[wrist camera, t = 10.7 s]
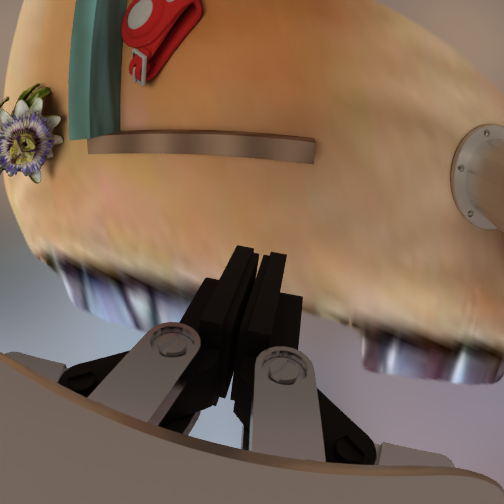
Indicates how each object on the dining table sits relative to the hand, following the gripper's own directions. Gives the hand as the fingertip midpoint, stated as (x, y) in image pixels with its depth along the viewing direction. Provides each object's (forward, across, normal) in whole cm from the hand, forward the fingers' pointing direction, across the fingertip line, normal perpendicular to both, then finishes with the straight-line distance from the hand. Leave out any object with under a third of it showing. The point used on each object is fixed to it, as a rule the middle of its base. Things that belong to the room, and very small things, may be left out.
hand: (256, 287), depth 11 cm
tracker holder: (+24, +17, -14) cm, 32 cm away
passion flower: (+23, +34, -2) cm, 41 cm away
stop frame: (+23, +11, -11) cm, 28 cm away
